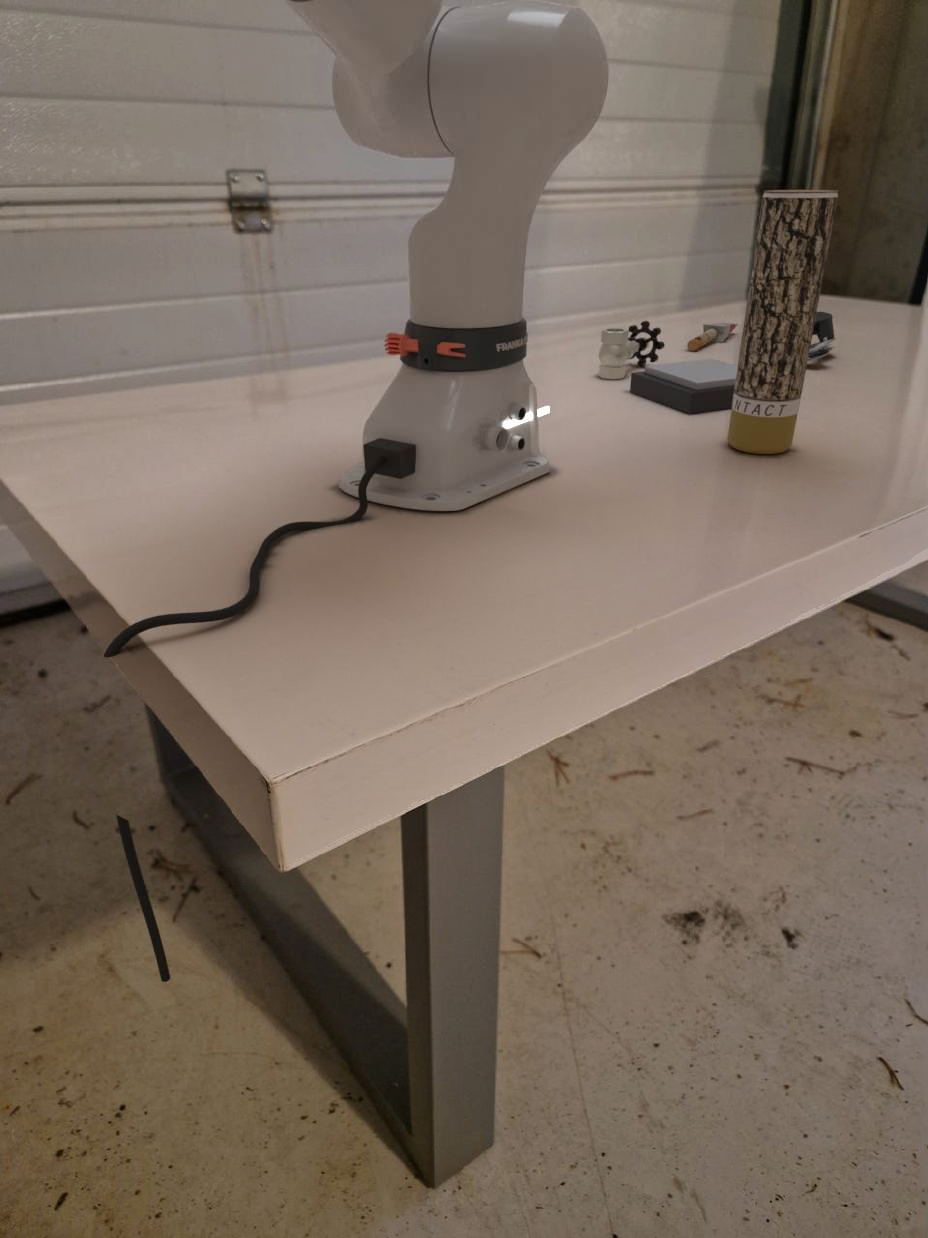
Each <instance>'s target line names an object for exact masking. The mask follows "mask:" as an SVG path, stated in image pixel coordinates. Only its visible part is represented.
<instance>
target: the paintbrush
mask: <svg viewBox="0 0 928 1238" xmlns="http://www.w3.org/2000/svg"><path fill="white" fill-rule="evenodd" d="M702 325H703V326H702V327H703V329H702V330H703V332H702V333H701V334H699V335H698V336H696V337H694V338H692V339H689V341H688V342H687V344H686V346H687V348H686V349H688V351H690V352H693V351H694V352H695V351H697V350H698V349H700V348H702V347H703V346H705V345H706V344H707V343H709V342H714V343H723V342H724V341H725V340H726V339H727V338H728V337H729V335H730V334H731V333H732V332H733V331H734V330H735V329H736V327H737V326H738V325H739V323H732V322H716V323H703V324H702Z"/></svg>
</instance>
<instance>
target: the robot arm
mask: <svg viewBox="0 0 928 1238" xmlns="http://www.w3.org/2000/svg"><path fill="white" fill-rule="evenodd" d="M283 1H284V2H285V4H287V5H288V6H289V8H291V9H292V10H293V12H295V14H296V15H297V16H299V17H300V19H302V21H303V22H304V23H305V24H306V25H307V26H308V28H309V29H311V30H312V31H313V32H314V33H315V35H316V36H317V37H318V38H319V39H320V41H322V42H323V43H324V44H325V45H326V47H328V49H329V50H330V51H331V52H332V53H333V55H334V56H335V58H334V62H333V66H332V73H331V74H332V75H331V91H332V93H331V94H332V100H333V104H334V108H335V111H336V112H335V113H336V115H337V117H338V120H339V122H340V124H341V126H342V128H343V129H344V132H345V133H346V134H347V136H348V137H349V138H350V140H351V141H352V142H353V143H354V144H355V145H356V146H358V147H360V148H362V149H364V150H368V151H371V152H375V153H379V154H381V155H386V156H390V157H394V158H398V159H403V160H424V159H425V160H429V159H430V160H431V159H432V160H434V159H435V160H437V159H454V161H453V170H452V175H451V180H450V182H449V185H448V188H447V190H446V193H445V194H444V196H443V197H442V199H441V201H440V202H439V204H438V205H436V206H435V207H433V208H431V209H430V210H428V211H427V212H426V213H424V214H423V215H422V216H420V218H419V219H417V221H416V222H415V223H414V225H413V226H412V228H411V230H410V233H409V234H408V239H407V243H406V252H407V253H406V254H407V281H408V305H409V319H407V321H406V323H405V327H404V332H403V333H402V334H399V333H396V332H388V333H387V334H386V336H385V339H384V347H385V348H384V351H386V354H387V355H389V356H398V355H399V360H400V361H401V365H400V367H399V370H397V373H396V375H395V376H394V377H393V379H392V380H391V382H390V384H389V385H388V387H387V388H386V390H385V391H384V393H383V395H382V396H381V398H380V399H379V401H378V402H377V405H375V407H374V409H373V410H372V412H371V413H370V415H369V416H368V418H367V419H366V420H365V422H364V425H363V431H362V447H361V449H362V450H361V451H362V453H361V454H362V455H361V457H362V460H361V461H360V462H358V464H356V465H355V466H354V467H352V468H351V469H349V470H348V471H347V472H345V473H344V474H343V475H341V476H340V477H339V481H338V487H339V489H341V491H343V492H345V493H346V494H348V495H350V496H352V497H355V498H358V502H359V506H358V509H357V510H356V511H355V512H354V513H353V514H351V515H350V516H349V517H346V518H344V519H339V520H335V521H334V520H333V521H311V520H310V521H307V520H306V521H294V522H289V523H286V524H283V525H282V526H280V527H277V528H276V529H275V530H273V531H271V532H270V533H269V534H268V535H267V536H266V537H265V538H264V540H263V541H262V543H261V545H260V547H259V549H258V552H257V554H256V555H255V558H254V560H253V561H252V563H251V565H250V569H249V587H248V590H247V593H246V594H245V595H244V597H242V599H240V600H239V601H237V602H235V603H234V604H232V605H230V606H227V607H224V608H220V609H215V610H207V611H206V610H205V611H194V612H178V613H177V612H176V613H167V614H161V615H160V614H159V615H155V616H152V617H147V618H144V619H142V620H139V621H137V622H134V623H133V624H131V625H129V626H128V627H126V628H125V629H123V630H122V631H121V632H120V633H119V634H118V635H116V636H115V638H113V640H112V641H111V643H110V644H109V645H108V646H107V648H106V649H105V652H104V654H103V657H104V658H108V659H109V658H112V657H115V656H116V655H118V654H119V652H121V650H122V648H123V647H124V646H125V645H126V644H127V643H128V642H129V641H130V640H132V639H133V638H134V637H137V636H138V635H140V634H141V633H143V632H146V631H148V630H151V629H154V628H159V627H165V626H172V625H173V626H174V625H184V624H185V625H186V624H200V623H211V622H217V621H224V620H226V619H229V618H234V617H235V616H237V615H238V614H241V613H243V612H244V611H245V610H246V609H248V608H249V607H250V606H251V605H252V604H253V603H254V602H255V601H256V599H257V598H258V596H259V591H260V572H261V569H262V567H263V565H264V563H265V561H266V559H267V557H268V554H269V552H270V549H271V547H272V545H273V544H274V542H276V541H277V540H278V539H280V538H282V537H283V536H286V535H287V534H289V533H291V532H294V531H305V530H317V529H322V528H328V527H335V526H341V525H346V524H352V523H356V522H358V521H360V520H361V519H362V518H363V517H364V516H365V514H366V513H367V511H368V507H369V506H368V505H369V502H372V503H377V504H381V505H385V506H390V507H396V508H403V509H409V510H416V511H418V510H419V511H430V512H456V511H461V510H464V509H467V508H469V507H471V506H474V505H476V504H478V503H480V502H483V501H485V500H487V499H491V498H493V497H495V496H497V495H500V494H501V493H504V492H507V491H509V490H511V489H513V488H516V487H518V486H521V485H523V484H525V483H527V482H530V481H532V480H534V479H536V478H539V477H541V476H543V475H546V474H548V473H550V471H551V466H550V460H549V459H548V458H547V457H545V456H544V455H541V453H540V437H539V435H540V434H539V418H540V417H543V416H544V415H547V414H550V410H551V409H550V408H551V406H549V405H546V406H543V407H540V408H538V391H537V387H536V386H535V384H534V382H533V381H532V380H531V378H530V376H529V375H528V372H527V371H526V367H525V365H524V359H525V358H526V357H527V349H528V348H527V347H528V346H527V345H528V341H529V340H528V339H529V338H528V337H529V334H528V332H527V329H528V328H527V327H528V326H527V320H526V319H525V318H524V317H523V312H524V311H523V308H524V287H525V286H524V285H525V284H524V283H525V269H526V256H527V246H528V238H529V232H530V228H531V224H532V221H533V216H534V214H535V211H536V208H537V205H538V202H539V201H540V198H541V196H542V194H543V192H544V190H545V188H546V186H547V184H548V182H549V180H550V179H551V177H552V175H553V174H554V172H555V171H556V169H557V168H558V167H559V166H560V164H561V163H562V162H563V161H564V159H565V158H566V157H568V155H569V154H570V153H571V152H572V151H573V150H575V149H576V147H577V146H578V145H580V144H581V143H582V142H583V141H584V140H585V139H586V138H587V136H589V134H590V133H591V131H592V130H593V128H594V126H595V125H596V123H597V122H598V120H599V117H600V115H601V113H602V112H603V108H604V106H605V102H606V98H607V93H608V87H609V73H610V72H609V59H608V54H607V49H606V45H605V42H604V39H603V37H602V34H601V31H600V30H599V28H598V26H597V25H596V22H595V21H594V20H593V19H592V17H591V16H590V15H589V13H588V12H587V11H586V10H585V9H584V8H581V7H580V6H574V5H568V4H564V3H558V2H553V1H544V0H510V1H501V2H494V3H485V4H478V5H468V6H449V5H445V4H444V2H445V0H283ZM115 816H116V820H117V821H116V822H117V825H118V831H119V833H120V834H119V835H120V838H121V843H122V847H123V850H124V854H125V858H126V862H127V866H128V869H129V872H130V876H131V878H132V882H133V886H134V889H135V892H136V895H137V898H138V901H139V902H138V903H139V904H140V908H141V911H142V914H143V918H144V920H145V924H146V927H147V931H148V934H149V938H150V941H151V945H152V949H153V952H154V956H155V960H156V964H157V968H158V972H159V976H160V980H161V982H163V983H167V982H168V981H169V982H170V980H171V974H170V969H169V964H168V961H167V956H166V953H165V949H164V945H163V941H162V937H161V933H160V930H159V927H158V923H157V920H156V916H155V913H154V909H153V906H152V902H151V899H150V896H149V893H148V890H147V886H146V883H145V879H144V875H143V872H142V869H141V866H140V865H141V864H140V862H139V859H138V855H137V854H138V853H137V850H136V847H135V843H134V838H133V834H132V831H131V827H130V820H129V819H126V818H125V817H122V816H121V815H118V814H116V815H115Z"/></svg>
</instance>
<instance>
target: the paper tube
mask: <svg viewBox="0 0 928 1238" xmlns="http://www.w3.org/2000/svg"><path fill="white" fill-rule="evenodd" d="M838 198H839V194H838V191H837V189H835V190H833V189H832V190H831V189H775V190H774V189H772V190H771V189H770V190H766V191H764V192H763V195H762V198H761V203H760V210H759V217H758V224H757V230H756V238H755V243H754V250H753V251H754V253H753V259H752V266H751V272H750V279H749V286H748V291H747V292H748V294H747V298H746V307H745V313H744V320H743V328H742V334H741V335H742V336H741V340H740V348H739V355H738V361H737V366H738V368H737V374H736V381H735V388H734V395H733V402H732V408H731V409H730V410H731V411H730V418H729V425H728V431H727V443H728V444H729V446H731V447H732V448H733V449H735V450H737V451H740V452H744V453H748V454H755V455H776V454H781V453H784V452H786V451H788V450H790V448H791V447H792V444H793V442H794V436H795V430H796V424H797V420H798V414H799V409H800V405H801V399H802V394H803V388H804V384H805V383H804V382H805V378H806V371H807V367H808V362H809V361H808V359H809V358H808V356H809V351H810V345H811V344H812V340H813V336H814V335H813V329H814V324H815V318H816V313H817V312H818V306H819V302H820V297H821V290H822V285H823V280H824V275H825V270H826V265H827V258H828V254H829V253H828V252H829V249H830V248H829V247H830V243H831V236H832V231H833V226H834V221H835V215H836V211H837V204H838Z"/></svg>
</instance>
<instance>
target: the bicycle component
mask: <svg viewBox="0 0 928 1238" xmlns="http://www.w3.org/2000/svg"><path fill="white" fill-rule="evenodd" d="M815 335H816V336H817V339H818V340H819V341H817V342H815V343H811V345H810V351H809V356H808V362H810V361H814V360H818V359H820V358H823V357H826V356H828V355H829V354H830V352H832V351H833V350H834V349H836V348H837V346H831V345H832V343H833V342H834V341H835V340H837V337H835V330H834V322H833V314H832V313H829V312H826V311H817V313H816V318H815V324H814V329H813V335H812V336H815Z"/></svg>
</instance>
